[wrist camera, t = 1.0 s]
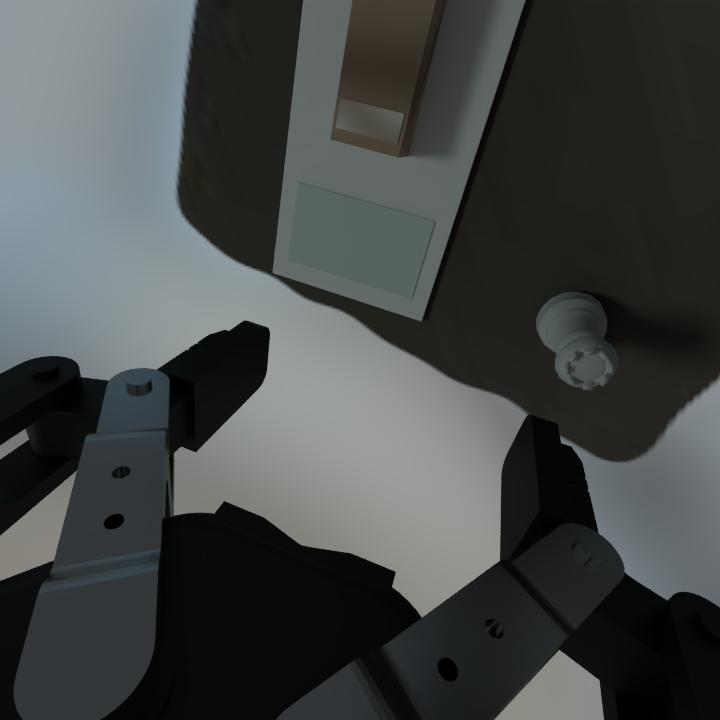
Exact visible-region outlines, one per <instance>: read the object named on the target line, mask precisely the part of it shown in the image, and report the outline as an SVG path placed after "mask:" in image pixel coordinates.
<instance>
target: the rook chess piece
mask: <svg viewBox="0 0 720 720" xmlns="http://www.w3.org/2000/svg"><path fill="white" fill-rule="evenodd" d="M606 330H607V317H606V313H605V311H604V309H603V307H602V305H601V303H600V302H599V301H598V300H596V299H595V298H594V297H593V296H591V295H589V294H585V293H581V292H567V293H562V294H560V295H558V296H555V297H553V298H551V299H550V300H549V301H548V302H547V303H546V304H545V305H544V306H543V307H541V310H540V312H539V314H538V316H537V331H538V333H539V336H540V338H541V340H542V341H543V343H544V344H545V345H546V346H547V347H548V348H550V349H551V350H552V351H554V352H556V358H555V369H556V371H557V373H558V375H559V377H560V378H561V379H562V380H564V381H565V382H566V383H567V384H570V385H572V386H573V387H575V386H576V387H582V388H583V390H593V386H596V385H599V384H600V385H601V386H602V387H603V386H604V385H606V384H607V383H608V382H610V381H609V378H611V377H612V376H613V374H614V372H615V371H616V369H617V367H618V355H617V352H616V350H615V348H614V347H613V346H612V345H611V344H609V343H608V342H607V341H605V339H604V338H603V337H604V335H605V333H606Z"/></svg>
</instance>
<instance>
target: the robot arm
mask: <svg viewBox="0 0 720 720" xmlns="http://www.w3.org/2000/svg"><path fill="white" fill-rule="evenodd" d="M269 340H270V331H269V329H268V328H267V327H265V326H261V325H258V324H255V323H252V322H249V321H243V322H241V323H240V324H238V325H237V326H236V327H234V328H233V329H231V330H230V331H227V330H223V331H220V332H217V333H213V334H210V335H208V336H206V337H205V338H203V339H202V340H200V341H199V342H198V344H195V345H193V346H191V347H190V348H189V350H185V351H184V352H183V353H181V354H180V355H178V356H176V357H175V358H173V359H172V360H170V361H169V362H168V363H166V364H165V365H163V366H161V367H160V368H159V369H157V370H154V369H148V368H138V369H131V370H127V371H124V372H121V373H119V374H117V375H115V376H114V377H113V378H111V379H110V381H106V380H99V379H91V378H83V377H81V375H80V370H79V366H78V364H77V363H76V362H75V361H73V360H72V359H69V358H66V357H59V356H47V357H40V358H35V359H31V360H28V361H25V362H23V363H21V364H19V365H17V366H15V367H13V368H11V369H9V370H7V371H5V372H3V373H1V374H0V445H1V444H3V443H4V442H6V441H7V440H9V439H10V438H11V437H13V436H15V435H16V434H18V433H19V432H21V431H22V430H24V429H26V431H27V434H28V437H29V440H28V441H26V442H25V443H24V444H22V445H21V446H19V447H18V448H17V449H15V450H13V451H12V452H11V453H9V454H8V455H6V456H5V457H3V458H2V459H0V535H1V534H3V533H4V532H5V531H6V530H7V529H9V528H10V527H11V526H12V525H13V524H14V523H16V522H17V521H18V520H19V519H20V518H21V517H23V516H24V515H25V514H26V513H27V512H28V511H30V510H31V509H32V508H33V507H34V506H36V505H37V504H38V503H39V502H40V501H41V500H42V499H44V498H45V497H46V496H47V495H48V494H50V493H51V492H52V491H53V490H54V489H55V488H57V487H58V486H59V485H60V484H61V483H63V482H64V481H65V480H66V479H67V478H68V477H70V476H71V475H72V474H73V473H74V472H75V471H77V473H76V477H75V481H74V485H73V489H72V493H71V497H70V501H69V505H68V508H67V513H66V516H65V520H64V524H63V528H62V532H61V536H60V540H59V544H58V548H57V551H56V555H55V559H54V561H51V562H49V563H46V564H43V565H41V566H38V567H36V568H33V569H30V570H28V571H25V572H23V573H20V574H17V575H15V576H12V577H9V578H7V579H4V580H1V581H0V720H494V719H495V718H496V717H497V716H498V715H499V714H500V713H501V712H502V711H503V710H504V708H505V707H506V706H507V705H508V704H509V703H510V702H511V701H512V700H513V699H514V698H515V697H516V695H517V694H518V693H519V692H520V691H521V690H522V689H523V688H524V687H525V686H526V685H527V684H528V683H529V681H531V679H532V678H533V677H534V676H535V675H536V674H537V673H538V672H539V671H540V670H541V669H542V668H543V667H544V665H545V664H546V663H547V662H548V661H549V660H550V659H551V658H552V657H553V656H554V655H555V654H556V653H557V652H558V650H561V651H562V652H563V653H565V654H566V655H567V656H569V657H570V658H571V659H572V660H574V661H575V662H576V663H578V664H579V665H580V666H582V667H583V668H584V669H586V670H587V671H588V672H590V673H591V674H592V675H593V676H595V677H596V678H597V679H599V680H600V688H601V697H602V705H603V714H604V720H720V608H719V607H718V606H717V605H715V604H714V603H712V602H710V601H709V600H707V599H705V598H703V597H701V596H699V595H696V594H693V593H689V592H679V593H676V594H674V595H673V596H672V597H671V598H670V599H669V600H668V601H667V600H665V599H664V598H662V597H661V596H659V595H658V594H656V593H654V592H653V591H651V590H650V589H648V588H647V587H645V586H643V585H642V584H640V583H638V582H637V581H636V580H634V579H632V578H631V577H630V576H628V575H627V574H626V573H625V572H624V565H623V562H622V559H621V557H620V556H619V554H618V552H617V551H616V550H615V548H614V547H613V546H612V545H611V544H610V543H609V542H608V541H607V540H606V539H605V538H604V537H603V536H601V535H600V534H599V533H598V528H597V524H596V520H595V516H594V511H593V507H592V502H591V498H590V494H589V492H588V485H587V481H586V479H585V477H586V476H585V472H584V468H583V463H582V461H581V460H580V458H579V457H578V455H577V454H576V453H575V451H574V450H573V449H572V447H571V446H567V445H565V444H562V443H561V440H560V435H559V429H558V425H557V423H555V422H552V421H549V420H546V419H543V418H540V417H537V416H534V415H531V414H529V415H528V416H527V417H526V418H525V420H524V422H523V424H522V426H521V428H520V430H519V432H518V433H517V435H516V437H515V439H514V441H513V444H512V445H511V447H510V449H509V451H508V453H507V456H506V458H505V461H504V464H503V468H502V476H501V481H502V482H501V538H500V561H499V562H498V563H497V564H495V565H493V566H492V567H491V568H490V569H488V570H487V571H485V572H484V573H483V574H481V575H480V576H478V577H477V578H476V579H474V580H473V581H472V582H470V583H469V584H468V585H466V586H465V587H463V588H462V589H461V590H459V591H458V592H457V593H455V594H454V595H452V596H451V597H450V598H449V599H447V600H446V601H444V602H443V603H442V604H440V605H439V606H437V607H436V608H435V609H433V610H432V611H431V612H429V613H428V614H427V615H425V616H424V617H423V618H422V617H421V616H420V614H419V613H418V612H417V610H416V609H415V608H414V607H413V606H412V605H411V603H410V602H409V601H408V600H407V599H405V598H404V597H403V596H402V595H401V594H400V593H399V592H398V591H396V590H395V589H394V588H392V584H393V580H394V577H395V573H396V572H395V571H392V570H390V569H387V568H385V567H382V566H380V565H377V564H375V563H373V562H370V561H368V560H366V559H363V558H361V557H358V556H356V555H353V554H351V553H344V552H337V551H331V550H325V549H318V548H312V547H306V546H303V545H300V544H298V543H297V542H296V541H294V540H293V539H292V538H290V537H289V536H287V535H286V534H285V533H284V532H282V531H281V530H280V529H278V528H277V527H276V526H274V525H273V524H272V523H270V522H269V521H268V520H266V519H265V518H264V517H261V516H259V515H256V514H254V513H251V512H249V511H247V510H244V509H242V508H239V507H237V506H235V505H232V504H230V503H227V502H225V501H224V502H223V503H222V505H221V506H220V507H219V509H218V510H217V511H216V512H215V514H212V513H187V514H181V515H175V516H174V452H175V451H177V450H178V449H179V448H180V447H184V448H186V449H189V450H191V451H194V452H197V451H198V450H199V448H200V447H202V446H203V444H204V443H205V442H206V441H207V440H208V439H209V438H210V437H211V436H212V435H213V434H214V433H215V432H216V431H217V430H218V429H219V428H220V427H221V426H222V425H223V424H224V423H225V422H226V421H227V420H228V419H229V418H230V417H231V416H232V415H233V414H234V413H235V412H236V411H237V410H238V409H239V408H240V407H241V406H242V405H243V404H244V403H245V402H246V401H247V400H248V399H249V398H250V397H251V396H252V395H253V394H254V393H255V392H256V391H257V390H258V389H259V387H260V386H261V385H262V383H263V381H264V379H265V376H266V372H267V364H268V351H269Z"/></svg>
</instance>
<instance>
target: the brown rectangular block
mask: <svg viewBox="0 0 720 720" xmlns="http://www.w3.org/2000/svg"><path fill="white" fill-rule="evenodd" d="M446 1H447V0H352V6H351V12H350V19H349V25H348V31H347V38H346V44H345V50H344V56H343V63H342V69H341V75H340V82H339V88H338V94H337V100H336V107H335V113H334V119H333V125H332V132H331V138H330V140H334V141H338V142H342V143H345V144H349V145H353V146H357V147H360V148H364V149H368V150H371V151H375V152H379V153H383V154H386V155H390V156H394V157H398V158H400V157H408V154H409V150H410V146H411V142H412V138H413V134H414V130H415V126H416V122H417V118H418V114H419V110H420V106H421V102H422V97H423V93H424V89H425V85H426V81H427V77H428V73H429V69H430V65H431V61H432V57H433V53H434V49H435V45H436V41H437V37H438V33H439V29H440V25H441V21H442V17H443V13H444V9H445V5H446Z"/></svg>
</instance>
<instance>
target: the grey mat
mask: <svg viewBox="0 0 720 720" xmlns="http://www.w3.org/2000/svg"><path fill="white" fill-rule="evenodd" d="M525 1H526V0H447V1H446V5H445V9H444V13H443V17H442V21H441V25H440V29H439V33H438V37H437V41H436V45H435V49H434V53H433V57H432V61H431V65H430V69H429V73H428V77H427V81H426V85H425V89H424V93H423V97H422V102H421V106H420V110H419V114H418V118H417V122H416V126H415V130H414V134H413V138H412V142H411V146H410V150H409V154H408V157H400V158H398V157H394V156H390V155H386V154H383V153H379V152H375V151H371V150H368V149H364V148H360V147H357V146H353V145H349V144H345V143H342V142H338V141H334V140H330V138H331V132H332V125H333V119H334V113H335V107H336V100H337V94H338V88H339V82H340V75H341V69H342V63H343V56H344V50H345V44H346V38H347V31H348V25H349V19H350V12H351V6H352V0H303V8H302V17H301V26H300V35H299V44H298V53H297V62H296V71H295V79H294V88H293V97H292V106H291V115H290V124H289V133H288V142H287V150H286V159H285V168H284V177H283V186H282V195H281V204H280V213H279V221H278V230H277V239H276V248H275V257H274V266H273V273H275V274H278V275H281V276H284V277H287V278H290V279H293V280H296V281H300V282H303V283H306V284H309V285H312V286H315V287H318V288H321V289H324V290H327V291H330V292H333V293H336V294H339V295H342V296H345V297H349V298H352V299H355V300H358V301H361V302H364V303H367V304H370V305H373V306H376V307H379V308H382V309H385V310H388V311H391V312H394V313H398V314H401V315H404V316H407V317H410V318H413V319H416V320H419V321H422V319H423V316H424V313H425V310H426V306H427V303H428V300H429V297H430V294H431V291H432V288H433V285H434V282H435V279H436V276H437V272H438V269H439V266H440V263H441V260H442V257H443V254H444V251H445V248H446V245H447V242H448V238H449V235H450V232H451V229H452V226H453V223H454V220H455V217H456V214H457V211H458V208H459V204H460V201H461V198H462V195H463V192H464V189H465V186H466V183H467V180H468V177H469V174H470V171H471V167H472V164H473V161H474V158H475V155H476V152H477V149H478V146H479V143H480V140H481V137H482V133H483V130H484V127H485V124H486V121H487V118H488V115H489V112H490V109H491V106H492V103H493V99H494V96H495V93H496V90H497V87H498V84H499V81H500V78H501V75H502V72H503V69H504V65H505V62H506V59H507V56H508V53H509V50H510V47H511V44H512V41H513V38H514V35H515V31H516V28H517V25H518V22H519V19H520V16H521V13H522V10H523V7H524V4H525Z"/></svg>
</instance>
